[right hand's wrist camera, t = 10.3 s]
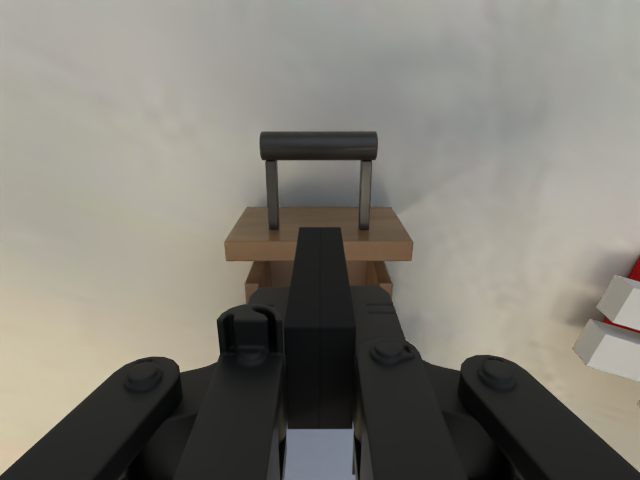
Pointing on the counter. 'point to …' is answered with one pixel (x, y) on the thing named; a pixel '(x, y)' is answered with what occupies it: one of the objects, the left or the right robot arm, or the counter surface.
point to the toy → (615, 330)
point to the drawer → (318, 216)
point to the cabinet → (319, 454)
